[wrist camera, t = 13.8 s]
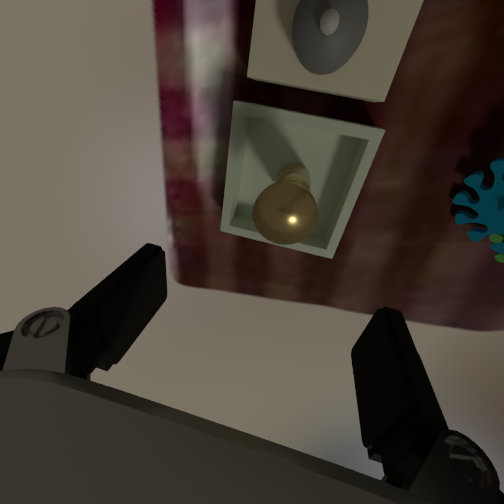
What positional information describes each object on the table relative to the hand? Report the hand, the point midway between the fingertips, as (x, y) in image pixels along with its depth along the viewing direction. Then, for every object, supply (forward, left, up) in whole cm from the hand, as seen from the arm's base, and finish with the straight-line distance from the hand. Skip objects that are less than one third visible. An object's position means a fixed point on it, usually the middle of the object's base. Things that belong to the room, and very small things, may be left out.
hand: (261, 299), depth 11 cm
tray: (0, 0, -22) cm, 22 cm away
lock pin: (0, 0, -21) cm, 21 cm away
